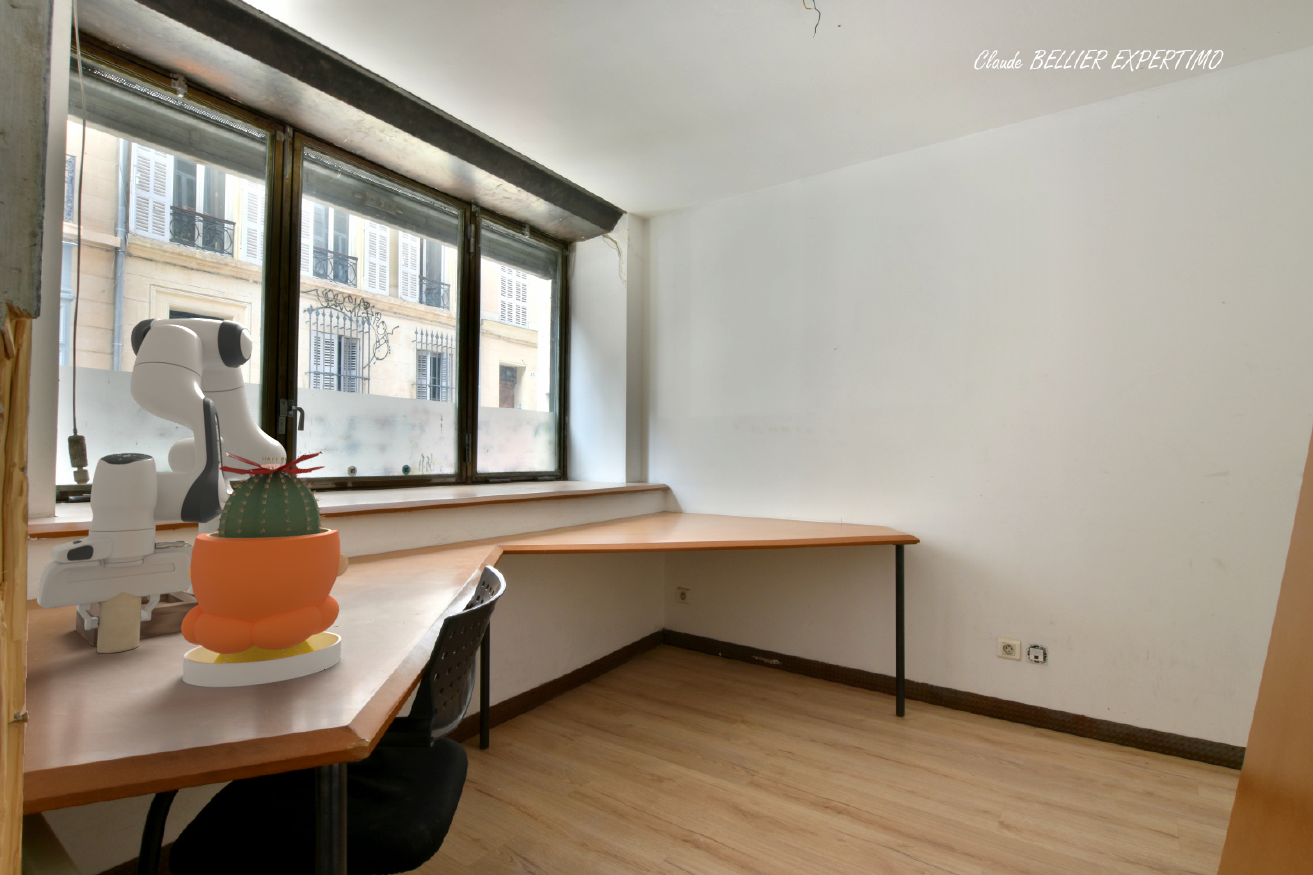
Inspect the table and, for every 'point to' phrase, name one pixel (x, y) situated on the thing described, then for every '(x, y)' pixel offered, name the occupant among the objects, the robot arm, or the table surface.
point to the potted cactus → (264, 584)
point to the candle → (119, 623)
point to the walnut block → (162, 616)
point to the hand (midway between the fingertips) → (118, 624)
